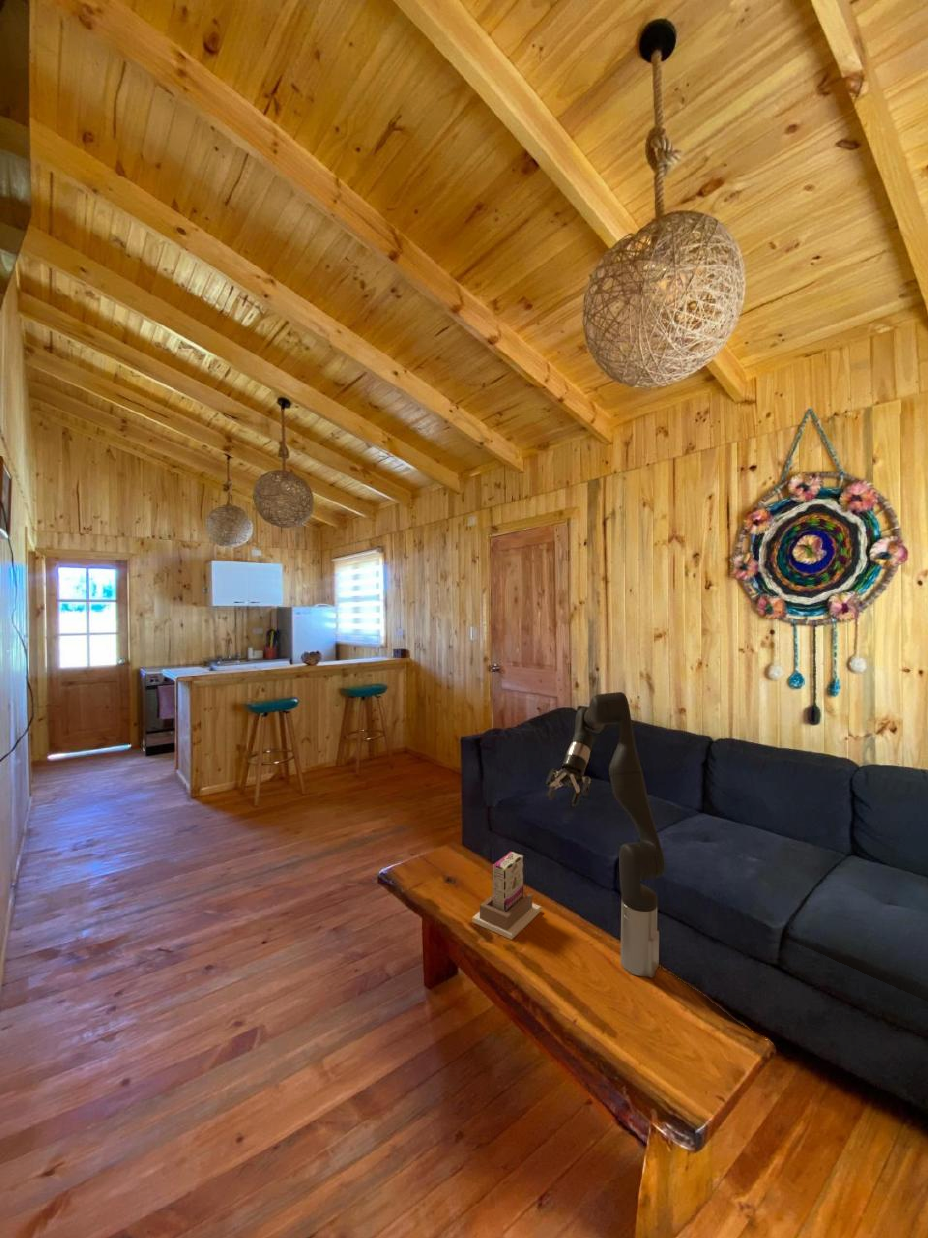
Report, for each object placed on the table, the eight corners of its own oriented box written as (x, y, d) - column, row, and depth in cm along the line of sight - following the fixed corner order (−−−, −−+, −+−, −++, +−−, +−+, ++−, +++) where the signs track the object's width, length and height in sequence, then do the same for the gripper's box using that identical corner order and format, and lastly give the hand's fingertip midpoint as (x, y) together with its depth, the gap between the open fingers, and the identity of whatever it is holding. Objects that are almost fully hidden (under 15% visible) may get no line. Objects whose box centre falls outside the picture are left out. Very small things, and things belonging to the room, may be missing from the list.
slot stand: (540, 911, 164) (540, 894, 164) (511, 940, 149) (511, 921, 149) (503, 896, 172) (503, 880, 172) (472, 922, 158) (472, 904, 158)
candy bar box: (510, 900, 167) (510, 850, 167) (523, 906, 164) (524, 855, 164) (491, 916, 158) (491, 864, 158) (504, 922, 155) (505, 869, 155)
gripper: (554, 749, 179) (538, 791, 170) (593, 757, 170) (578, 801, 161) (560, 761, 183) (545, 802, 174) (599, 769, 175) (585, 812, 166)
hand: (561, 802), depth 168 cm, fingers open, 8 cm apart
